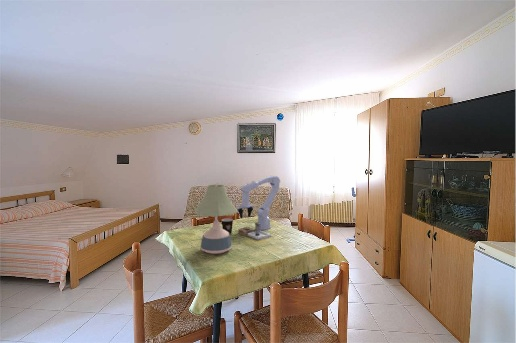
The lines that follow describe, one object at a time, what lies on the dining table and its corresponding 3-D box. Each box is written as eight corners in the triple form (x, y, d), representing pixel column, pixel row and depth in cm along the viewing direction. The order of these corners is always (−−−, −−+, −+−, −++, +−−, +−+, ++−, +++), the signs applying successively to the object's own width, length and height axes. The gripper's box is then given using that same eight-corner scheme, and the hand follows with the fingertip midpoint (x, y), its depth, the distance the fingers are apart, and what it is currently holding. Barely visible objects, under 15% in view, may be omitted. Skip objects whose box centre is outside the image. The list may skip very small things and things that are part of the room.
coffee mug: (234, 231, 192) (234, 218, 191) (231, 234, 183) (231, 221, 183) (219, 230, 193) (219, 218, 192) (216, 234, 184) (216, 221, 184)
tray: (260, 232, 189) (260, 230, 189) (270, 236, 179) (270, 234, 179) (247, 235, 181) (247, 233, 181) (257, 240, 172) (257, 237, 172)
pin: (256, 234, 184) (257, 222, 183) (261, 235, 181) (261, 222, 181) (253, 235, 180) (253, 223, 180) (258, 236, 178) (258, 224, 178)
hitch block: (248, 230, 193) (248, 226, 193) (255, 233, 187) (255, 229, 187) (238, 233, 187) (238, 229, 187) (244, 235, 181) (244, 231, 181)
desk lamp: (195, 261, 135) (195, 186, 133) (194, 244, 163) (193, 181, 160) (241, 256, 143) (241, 185, 140) (232, 240, 170) (232, 180, 168)
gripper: (249, 198, 201) (249, 215, 202) (234, 200, 192) (234, 217, 193) (255, 199, 196) (254, 216, 196) (240, 201, 187) (239, 219, 187)
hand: (245, 217), depth 194 cm, fingers open, 7 cm apart
